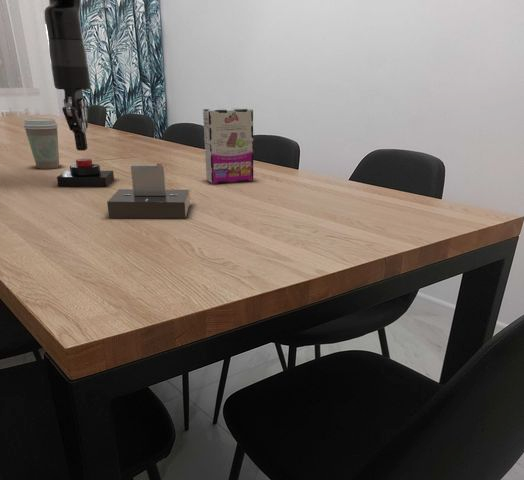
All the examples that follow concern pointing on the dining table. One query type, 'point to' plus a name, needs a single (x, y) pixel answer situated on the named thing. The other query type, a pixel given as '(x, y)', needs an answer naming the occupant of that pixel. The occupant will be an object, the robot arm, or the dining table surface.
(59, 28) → the robot arm
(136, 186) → the knob
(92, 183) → the push button base
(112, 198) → the dark grey base plate
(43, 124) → the coffee cup
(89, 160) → the power button
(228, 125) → the candy bar box
